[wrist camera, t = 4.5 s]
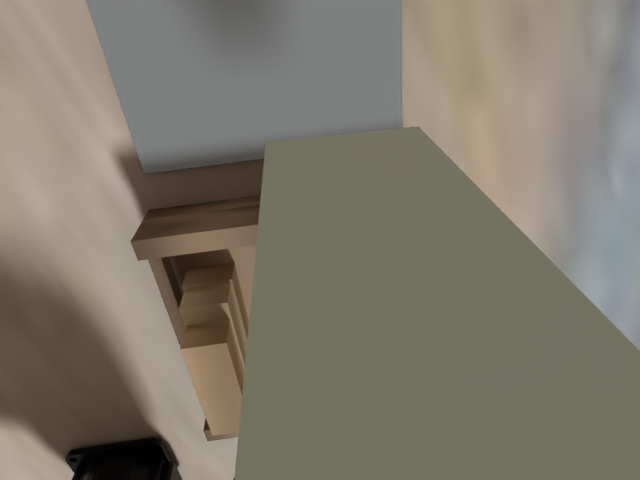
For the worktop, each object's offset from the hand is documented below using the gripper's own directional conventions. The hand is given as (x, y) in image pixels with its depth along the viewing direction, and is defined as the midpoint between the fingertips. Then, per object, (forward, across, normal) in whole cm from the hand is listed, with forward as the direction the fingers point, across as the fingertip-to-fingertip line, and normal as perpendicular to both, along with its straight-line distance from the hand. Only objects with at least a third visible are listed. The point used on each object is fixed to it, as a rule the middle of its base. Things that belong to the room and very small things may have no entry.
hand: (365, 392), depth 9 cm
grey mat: (+13, +2, -5) cm, 14 cm away
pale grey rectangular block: (+2, 0, 0) cm, 2 cm away
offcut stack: (+12, +6, +8) cm, 16 cm away
